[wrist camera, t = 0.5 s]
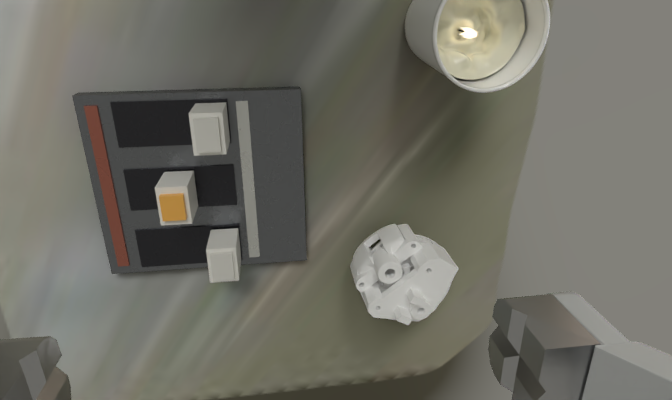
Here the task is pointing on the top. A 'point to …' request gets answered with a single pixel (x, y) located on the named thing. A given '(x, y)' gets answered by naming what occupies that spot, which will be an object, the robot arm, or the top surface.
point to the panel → (196, 174)
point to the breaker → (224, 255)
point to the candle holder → (479, 39)
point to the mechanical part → (402, 274)
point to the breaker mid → (176, 197)
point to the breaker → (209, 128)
